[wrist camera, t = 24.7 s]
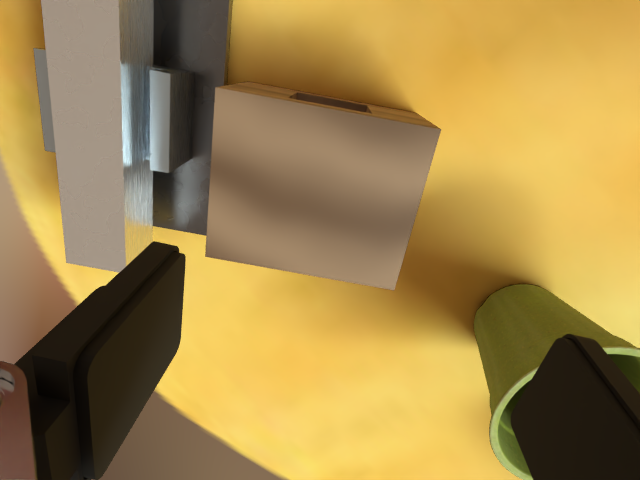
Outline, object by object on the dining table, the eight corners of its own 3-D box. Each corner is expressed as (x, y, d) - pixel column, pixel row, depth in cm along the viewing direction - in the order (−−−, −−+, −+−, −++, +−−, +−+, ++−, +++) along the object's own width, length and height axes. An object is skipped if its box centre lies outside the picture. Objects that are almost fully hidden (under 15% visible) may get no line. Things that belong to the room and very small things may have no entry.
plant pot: (492, 391, 38) (548, 514, 27) (420, 309, 35) (452, 413, 24) (614, 327, 34) (731, 440, 24) (546, 229, 31) (646, 311, 21)
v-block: (46, -59, 25) (-20, -87, 21) (234, -23, 25) (210, -42, 21) (70, 206, 32) (25, 230, 28) (216, 232, 33) (195, 260, 28)
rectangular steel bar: (84, -44, 23) (34, -65, 19) (153, -30, 23) (117, -48, 19) (100, 238, 30) (66, 262, 26) (152, 248, 30) (126, 273, 26)
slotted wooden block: (248, 81, 28) (215, 87, 21) (416, 112, 28) (441, 129, 21) (236, 213, 32) (205, 256, 25) (383, 240, 32) (394, 290, 25)
